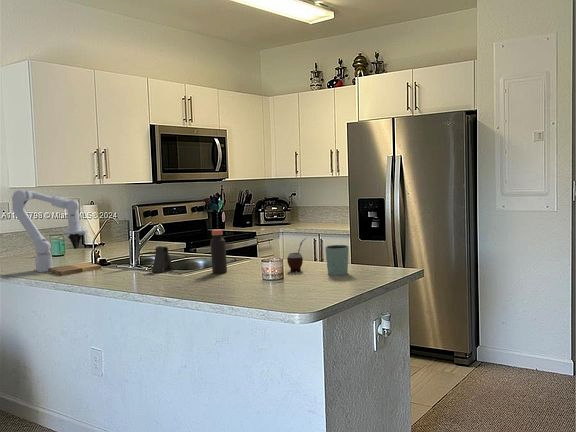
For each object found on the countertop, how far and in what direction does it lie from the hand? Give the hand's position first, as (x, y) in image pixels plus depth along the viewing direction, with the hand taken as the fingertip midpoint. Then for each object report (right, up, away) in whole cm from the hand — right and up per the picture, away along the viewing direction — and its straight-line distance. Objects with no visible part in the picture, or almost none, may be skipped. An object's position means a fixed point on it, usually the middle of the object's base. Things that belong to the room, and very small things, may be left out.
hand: (76, 248), depth 301 cm
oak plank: (+6, -11, -5) cm, 13 cm away
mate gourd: (+116, -8, -42) cm, 124 cm away
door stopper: (+51, -10, -23) cm, 57 cm away
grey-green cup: (+134, -8, -54) cm, 145 cm away
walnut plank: (-1, -12, -12) cm, 17 cm away
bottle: (+80, -9, -36) cm, 88 cm away
